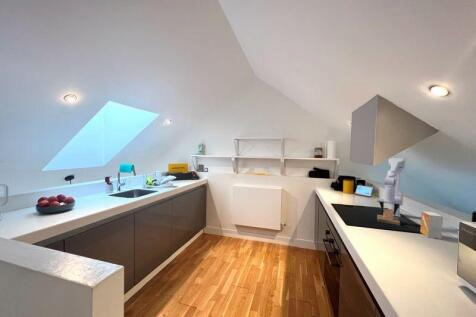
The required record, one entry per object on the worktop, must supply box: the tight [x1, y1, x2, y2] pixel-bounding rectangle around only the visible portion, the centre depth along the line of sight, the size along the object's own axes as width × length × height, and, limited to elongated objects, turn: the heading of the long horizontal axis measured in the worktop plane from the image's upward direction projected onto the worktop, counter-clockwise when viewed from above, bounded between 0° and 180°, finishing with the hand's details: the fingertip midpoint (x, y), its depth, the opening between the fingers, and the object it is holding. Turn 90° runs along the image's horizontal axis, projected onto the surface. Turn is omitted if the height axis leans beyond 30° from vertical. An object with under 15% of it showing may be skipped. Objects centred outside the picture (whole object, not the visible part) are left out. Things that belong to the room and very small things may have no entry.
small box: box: [420, 210, 444, 240], centre depth 119 cm, size 8×6×13 cm
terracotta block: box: [382, 207, 394, 220], centre depth 143 cm, size 5×5×6 cm
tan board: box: [376, 214, 401, 226], centre depth 143 cm, size 12×12×2 cm
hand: (388, 213), depth 143 cm, fingers open, 6 cm apart
